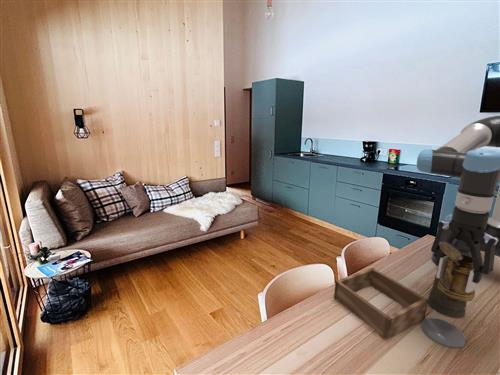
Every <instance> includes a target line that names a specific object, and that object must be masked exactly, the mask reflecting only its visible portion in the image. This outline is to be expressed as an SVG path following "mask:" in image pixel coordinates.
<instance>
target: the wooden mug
mask: <svg viewBox="0 0 500 375" xmlns="http://www.w3.org/2000/svg"><path fill="white" fill-rule="evenodd" d="M439 246H440V248H441V250H442V251H443V252H444V253H445V254H446V255H447V256H448V258H449V259H448V261H447V266H446V269H445V271H444V273H443V276H442V278H441V279H440V281H439V283H438V286H437V287H438V289H439V290H440V291H441V292H442V293H444V294H445V295H447V296H449V297H451V298H453V299H456V300H460V301H467V302H471V301H473V300H474V299H475V297H476V290H475V289H474V290H473V291H471V292H469V293H467V292H465V291H466V287H467V282H468V278H469V274H470V271H471V270H473V269H474V267H473V262H472V257H470V256H468V255H465V254H462V253H461V252H460V250H458V249H457V248H456V247H455V246H453V245H452V244H450V243H449V242H447V241H441V242H439ZM474 288H475V286H474Z"/></svg>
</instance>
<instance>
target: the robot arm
mask: <svg viewBox="0 0 500 375" xmlns="http://www.w3.org/2000/svg"><path fill="white" fill-rule="evenodd" d="M484 147H493V148H500V115H493V116H488V117H484V118H481V119H479V120H475V121H474V122H470V124H468V125H466V126H464V127H463V129H462V130H461V131H460V133H459V134H458V135H456V136H455V137H453V138H452V139H450V140H449V141H447V142H446V143H445V144H443V145H442V146H440V147H439V148H437V149H433V148H432V149H422V150H421V151H420V152H419V154H418V156H417V158H416V168H417V170H418V171H419V172H421V173H426V174H430V175H438V176H444V177H451V178H458V179H459V184H458V188H457V193H456V196H455V201H454V205H455V206H454V207H453V210H452V213H450V214H447V215H445V217H444V220H440V221H439V222H437V232H436V234H435V237H434V239H433V243H432V246H431V248H430V251H431V252H432V255H431V261H432V262H433V263H434V264H435V265H436V267H437V269H438V271H437V270H436V274H437V276H436V275H435V276H436V277H437V278H441V277H442V276H443V273H444V271H445V269H446V265H447V260H448V257H447V256H445V255H446V254H445V253H444V252H443V251H442V250H441V248H440V246H439V242H441V241H447V242H449V243H450V244H452V245H453V246H455V247H456V248H457V249H458V250H460V252H461V253H462V254H465V255H468V256H470V257H472V262H473V267H474V269H473V270H471V271H470V274H469V278H468V282H467V287H466V291H465V292H467V293H469V292H471V291H473V290H475V287H474V286H475V285H476V284H478V283H480V282H481V280H482V276H483V274H484V275H489V274H490V273H493V271H494V266H495V265H494V263H495V256H496V257H498V258H500V185H499V187H498V191H497V195H496V198H495V193H496V189H497V186H498V183H499V182H500V151H496V150H495V151H494V150H483V149H481V148H484ZM478 149H479V150H478ZM480 149H481V150H480ZM494 198H495V203H494V207H493V210H492V205H493V202H494ZM491 210H492V215H491V217H490V213H489V212H490V211H491ZM483 252H484V256H483V257H482V253H483ZM438 266H439V267H438Z"/></svg>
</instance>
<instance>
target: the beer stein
mask: <svg viewBox="0 0 500 375" xmlns="http://www.w3.org/2000/svg"><path fill="white" fill-rule="evenodd" d="M445 256H447V255H445ZM447 257H448V256H447ZM448 259H449V258H448ZM447 261H448V260H447ZM446 266H447V265H446ZM438 267H439V266H437V269H436V272H437V271H438ZM436 276H437V273H436V274H435V276H434V279H433V284H432V288H431V289H430V291H429V296H428V298H427V299H428V300H429V301H428V305H429V307H430V308H431V309H433V310H434V311H436V312H437V313H438V314H441V315H443V316H445V317H449V318H454V319H455V318H462V317H464V316H465V314H466V307H467V303H468V301H460V300H456V299H453V298H451V297H449V296H447V295H445V294H444V293H442V292H441V291H440V290H439V289H438V287H437V286H438V283H439V281H440V279H441V278H442V277H441V278H437V277H436Z"/></svg>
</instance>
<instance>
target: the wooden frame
mask: <svg viewBox="0 0 500 375" xmlns="http://www.w3.org/2000/svg"><path fill="white" fill-rule="evenodd" d="M334 284H335V286H334V294H333V299H334V300H336V301H337V302H338V303H340V304H341V305H342V306H343V307H345V308H346V309H347V310H348V311H349V312H351V313H352V314H353V315H354V316H356V317H357V318H358V319H360V321H362V322H364V323H365V324H366V325H367V326H368V327H370V328H371V329H372V330H374V332H376V333H377V334H378V335H380V336H381V337H382V338H383V339H385V341H386V340H388V339H390V338H392V337H394V336H396V335H397V334H399V333H402V332H403V331H404V330H406V329H408V328H410V327H412V326H414V325H415V324H417V323H419V322H420V321H423V320H425V319H426V314H427V311H428V305H429V304H428V301H429V300H428V298H426V297H424V296H423V295H421V294H419V293H418V292H416V291H414V290H412V289H411V288H409V287H407V286H405V285H403V284H402V283H400V282H398V281H397V280H394V279H393V278H391V277H390V276H388V275H386V274H385V273H383V272H381V271H379V270H377V269H376V268H374V267H370V268H368V269H365V270H362V271H359V272H357V273H354V274H352V275H348V276H346V277H343V278H341V279H338V280H335V283H334ZM369 287H372V288H374V289H375V290H376V291H379V293H381V294H383V295H385V297H388V298H389V299H391V300H392V301H394V302H396V303H397V304H398V305H400V307H401V306H402V307H403V308H402V309H400V310H398V311H396V312H395V313H392V314H389V315H387V314H386V313H385V312H384V311H382V310H380V309H379V308H378V307H377V306H375V305H374V304H373V303H371V302H370V301H369V300H366V299H365V298H364V297H363V296H361V295H360V294H358V293H357V292H359V291H362V290H364V289H366V288H369Z"/></svg>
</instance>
